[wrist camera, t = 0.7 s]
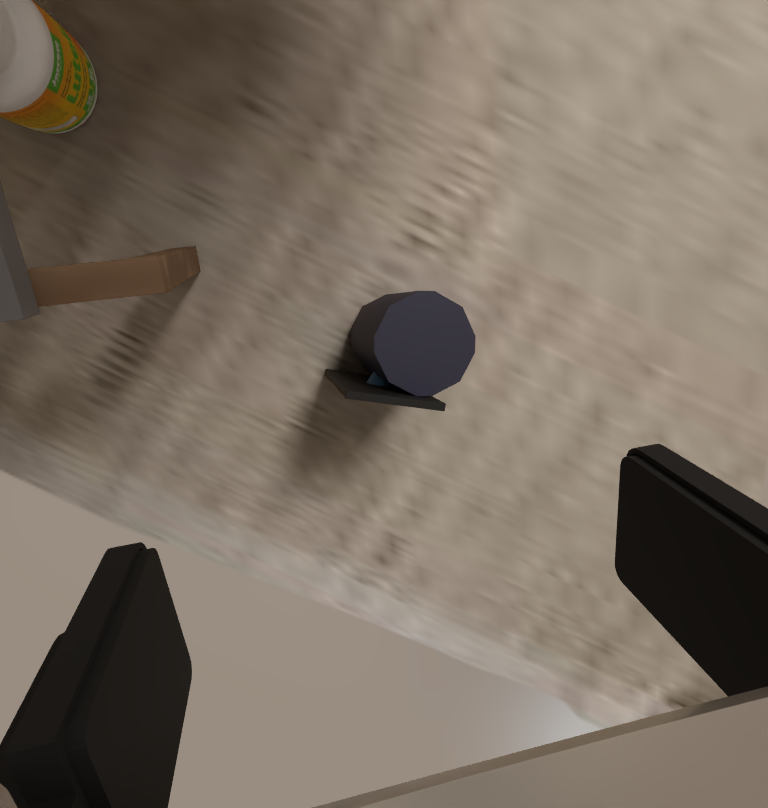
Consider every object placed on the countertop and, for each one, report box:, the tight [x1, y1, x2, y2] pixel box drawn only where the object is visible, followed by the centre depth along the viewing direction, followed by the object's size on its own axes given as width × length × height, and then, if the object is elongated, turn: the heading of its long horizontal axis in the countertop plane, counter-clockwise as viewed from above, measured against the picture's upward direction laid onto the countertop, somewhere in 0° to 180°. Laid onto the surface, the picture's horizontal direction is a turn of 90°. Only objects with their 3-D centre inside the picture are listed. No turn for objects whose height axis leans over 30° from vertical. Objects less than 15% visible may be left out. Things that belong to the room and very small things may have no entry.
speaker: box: [325, 291, 475, 411], centre depth 32 cm, size 8×6×10 cm
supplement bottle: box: [0, 0, 98, 133], centre depth 24 cm, size 5×5×10 cm
